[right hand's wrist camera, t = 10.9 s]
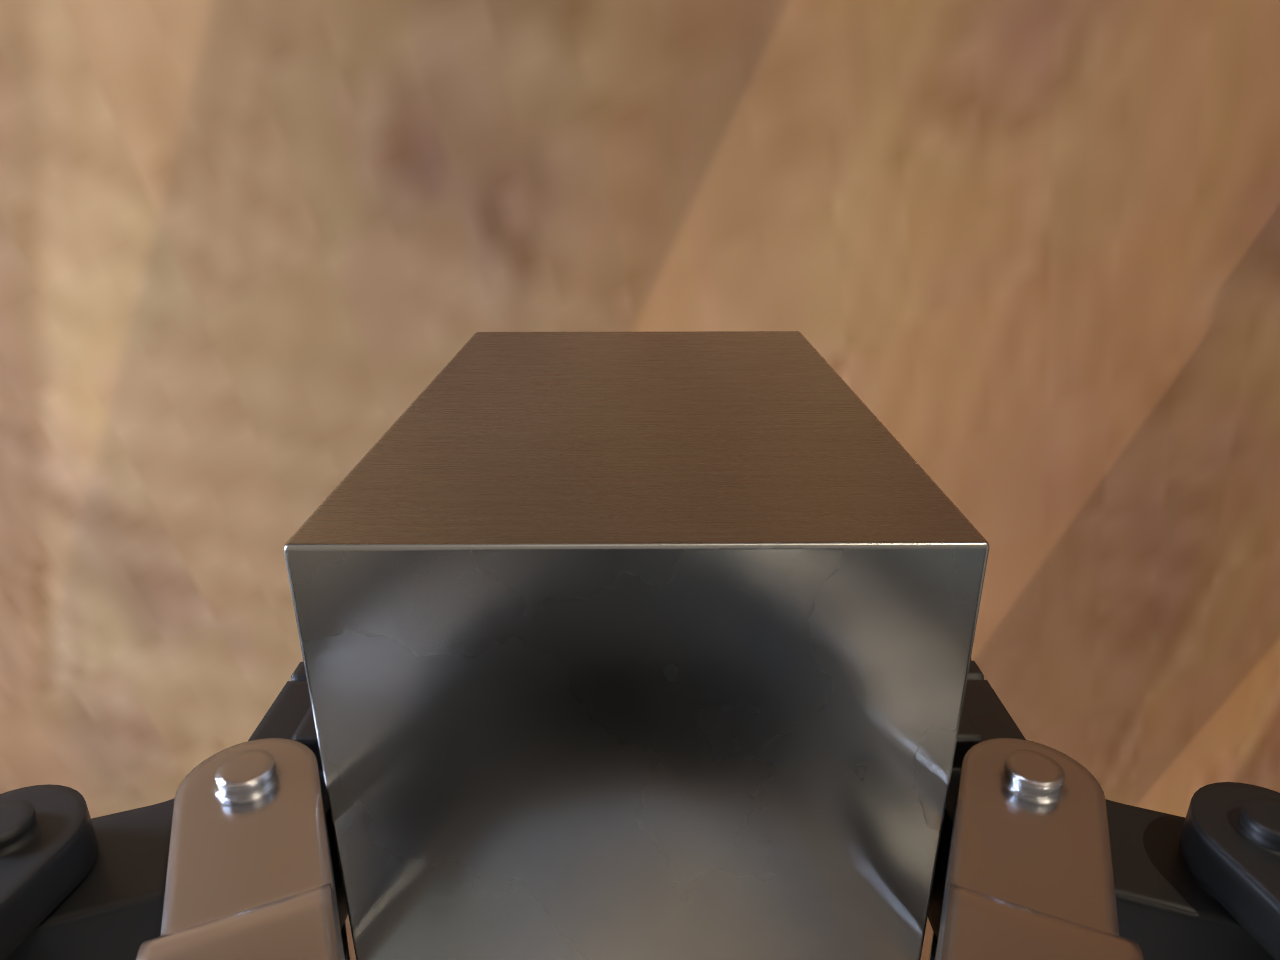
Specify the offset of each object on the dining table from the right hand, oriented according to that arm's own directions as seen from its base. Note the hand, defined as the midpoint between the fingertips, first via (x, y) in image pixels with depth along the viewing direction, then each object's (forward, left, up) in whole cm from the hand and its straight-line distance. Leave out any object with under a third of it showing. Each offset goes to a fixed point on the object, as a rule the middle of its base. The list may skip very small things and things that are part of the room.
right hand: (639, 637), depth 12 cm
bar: (+9, -1, -4) cm, 10 cm away
